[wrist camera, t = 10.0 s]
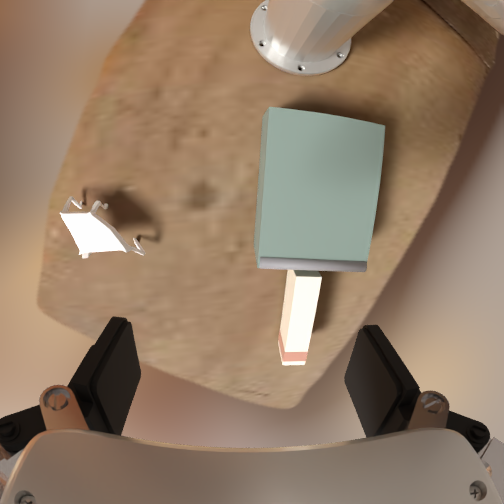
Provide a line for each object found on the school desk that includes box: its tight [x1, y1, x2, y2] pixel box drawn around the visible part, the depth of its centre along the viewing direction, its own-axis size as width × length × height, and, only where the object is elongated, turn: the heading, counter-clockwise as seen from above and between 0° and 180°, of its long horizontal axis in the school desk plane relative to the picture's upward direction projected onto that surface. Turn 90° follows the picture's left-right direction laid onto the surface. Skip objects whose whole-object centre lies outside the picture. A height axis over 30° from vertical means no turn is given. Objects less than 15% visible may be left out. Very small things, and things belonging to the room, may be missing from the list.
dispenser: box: [254, 107, 385, 272], centre depth 31 cm, size 16×12×8 cm
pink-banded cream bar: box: [278, 270, 322, 365], centre depth 37 cm, size 13×3×5 cm, turn 176°
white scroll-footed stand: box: [60, 196, 145, 258], centre depth 33 cm, size 12×8×5 cm
